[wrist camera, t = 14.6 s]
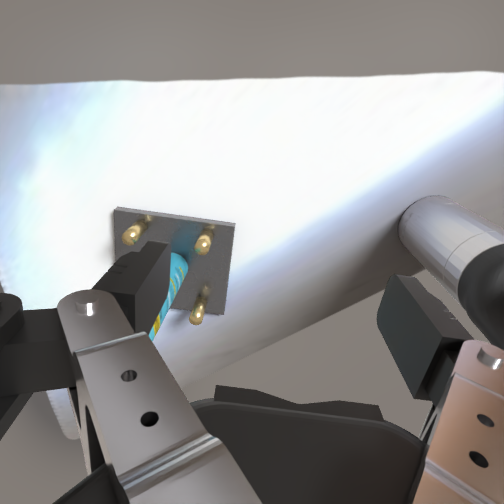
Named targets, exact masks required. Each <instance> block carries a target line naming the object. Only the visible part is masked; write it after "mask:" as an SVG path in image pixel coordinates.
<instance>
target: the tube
mask: <svg viewBox="0 0 504 504" xmlns="http://www.w3.org/2000/svg"><path fill="white" fill-rule="evenodd" d="M187 272H188V265H187V262H186V260H185V259H184V258H183V257H182V256H181V255H179V254H176V253H171V267H170V285H169V291H168V295H167V298H166V300H165V302H164V305H163V307H162V309H161V311H160V313H159V315H158V317H157V319H156V321H155V323H154V325H153V327H152V329H151V332H150V334H149V337H150V339H151V341H153V339H154V337H155V335H156V333H157V332H158V330H159V328H160V326H161V324H162V322H163V320H164V318H165V316H166V314H167V312H168V310H169V308H170V306H171V304H172V302H173V300H174V298H175V296H176V294H177V292H178V290H179V288H180V286H181V284H182V282H183V280H184V278H185V276H186V274H187Z"/></svg>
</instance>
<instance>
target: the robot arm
mask: <svg viewBox="0 0 504 504" xmlns="http://www.w3.org/2000/svg"><path fill="white" fill-rule="evenodd" d="M398 234H399V238H400V240H401V242H402V244H403V245H404V246H405V247H406V248H407V249H408V250H409V251H410V252H411V253H412V254H413V256H414V257H415V258H416V259H417V260H418V261H419V262H420V263H421V264H422V265H423V266H424V267H425V268H426V269H427V270H428V272H429V273H430V274H431V275H432V276H433V277H434V278H435V279H436V280H437V281H438V282H439V283H440V284H441V285H442V286H443V287H444V288H445V290H446V291H448V293H449V294H450V295H451V296H452V297H453V298H454V299H455V300H456V301H457V302H458V303H459V304H460V305H461V306H462V307H463V308H464V309H465V310H466V312H467V314H468V316H469V318H470V319H471V321H472V322H473V323H474V324H475V325H476V326H477V327H478V329H479V330H480V331H481V332H482V333H483V334H484V335H485V337H486V338H487V339H488V340H489V341H490V343H491V344H489V343H487V342H483V341H479V340H474V339H473V337H472V336H471V335H470V334H469V333H468V332H467V330H466V329H465V328H464V327H463V326H462V325H461V323H460V322H459V321H458V320H455V317H454V315H453V314H452V313H451V312H449V310H448V309H447V307H446V306H445V305H444V304H443V303H442V302H441V301H440V300H439V299H437V298H436V297H434V296H433V295H432V294H430V293H429V292H427V290H426V289H425V288H424V287H423V285H422V284H421V283H420V282H419V281H418V280H417V279H416V278H415V277H409V276H402V275H395V274H394V275H392V276H391V277H390V278H389V281H388V283H387V286H386V289H385V292H384V295H383V297H382V300H381V303H380V307H379V309H378V313H377V325H378V328H379V330H380V332H381V334H382V336H383V338H384V340H385V342H386V344H387V346H388V348H389V350H390V352H391V354H392V356H393V358H394V360H395V362H396V364H397V366H398V368H399V370H400V372H401V374H402V376H403V378H404V380H405V382H406V384H407V386H408V388H409V390H410V392H411V394H412V396H413V398H414V399H421V400H429V401H432V403H433V404H432V406H431V408H430V410H429V412H428V415H427V417H426V420H425V422H424V425H423V427H422V430H421V432H420V435H419V437H416V436H414V435H413V434H411V433H410V432H408V431H406V430H405V429H403V428H401V427H399V426H397V425H395V424H393V423H391V422H388V421H386V420H384V419H383V417H382V414H381V411H380V409H379V406H378V405H371V404H363V403H355V402H346V401H329V402H320V403H309V404H296V403H293V402H290V401H287V400H284V399H281V398H278V397H275V396H272V395H269V394H266V393H264V392H260V391H257V390H251V389H244V388H236V387H228V386H219V385H216V389H215V395H214V398H210V399H204V400H199V401H195V402H192V403H189V401H188V400H187V398H186V396H185V395H184V393H183V391H182V390H181V388H180V386H179V385H178V383H177V382H176V380H175V378H174V377H173V375H172V373H171V372H170V370H169V368H168V367H167V365H166V364H165V362H164V360H163V359H162V357H161V355H160V354H159V352H158V350H157V349H156V347H155V346H154V344H153V342H152V341H151V339H150V337H149V334H150V332H151V329H152V327H153V325H154V323H155V321H156V319H157V317H158V315H159V313H160V311H161V309H162V307H163V305H164V302H165V300H166V298H167V295H168V291H169V285H170V267H171V244H170V243H166V242H159V241H151V240H149V241H148V242H147V243H146V244H145V245H144V247H143V248H142V249H141V250H140V252H133V251H131V252H129V253H127V254H125V255H123V256H121V257H120V258H119V259H118V260H117V261H116V262H115V263H114V264H113V266H112V267H111V268H110V269H109V270H108V272H106V273H105V274H104V275H103V277H102V278H101V279H100V280H99V281H98V282H97V283H96V284H95V285H94V287H93V288H92V289H90V290H81V291H77V292H74V293H71V294H69V295H67V296H65V297H64V298H63V299H61V300H60V302H59V303H58V305H57V308H53V309H39V310H23V307H22V302H21V299H20V298H19V297H17V296H15V295H12V294H7V293H0V440H1V439H2V437H3V436H4V434H5V433H6V431H7V430H8V429H9V427H10V426H11V424H12V423H13V421H14V420H15V419H16V417H17V416H18V414H19V413H20V411H21V410H22V409H23V407H24V406H25V404H26V403H27V401H28V400H29V398H30V397H31V396H32V394H33V392H39V391H47V390H54V389H62V388H67V391H68V394H69V398H70V402H71V406H72V409H73V413H74V417H75V420H76V424H77V428H78V431H79V435H80V439H81V443H82V447H83V452H84V458H85V463H86V468H87V473H88V476H87V477H86V478H85V479H83V480H82V481H81V482H80V483H78V484H77V485H76V486H75V487H73V488H72V489H71V490H69V491H68V492H67V493H65V494H64V495H63V496H62V497H60V498H59V499H58V500H57V501H55V502H54V503H53V504H504V229H503V228H502V227H500V226H498V225H496V224H494V223H493V222H491V221H489V220H487V219H485V218H483V217H482V216H480V215H478V214H476V213H474V212H473V211H471V210H469V209H467V208H465V207H464V206H462V205H460V204H458V203H456V202H455V201H453V200H451V199H449V198H446V197H442V196H430V197H426V198H423V199H421V200H418V201H417V202H415V203H414V204H412V205H411V206H410V207H409V208H408V209H407V210H406V211H405V213H404V214H403V216H402V218H401V220H400V223H399V227H398Z"/></svg>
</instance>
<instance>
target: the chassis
mask: <svg viewBox="0 0 504 504" xmlns="http://www.w3.org/2000/svg"><path fill="white" fill-rule="evenodd" d="M114 227H115V256H116V261H117V260H118V259H119V258H120V257H121V256H123V255H125V254H127V253H129V252H131V251H133V252H140V250H141V249H142V248H143V247H144V245H145V244H146V243H147V242H148V241H149V240H151V241H159V242H166V243H170V244H171V253H176V254H179V255H181V256H182V257H183V258H184V259H185V260H186V262H187V265H188V272H187V274H186V276H185V278H184V280H183V282H182V284H181V286H180V288H179V290H178V292H177V294H176V296H175V298H174V300H173V302H172V304H171V306H170V308H176V309H184V310H191V311H192V312H191V314H190V317H189V321H190V323H191V324H193V325H199V324H201V323H202V320H203V316H204V312H206V313H214V314H221V315H224V311H225V304H226V296H227V288H228V279H229V271H230V263H231V255H232V247H233V239H234V231H235V223H230V222H223V221H215V220H208V219H201V218H194V217H187V216H180V215H173V214H166V213H158V212H151V211H144V210H137V209H130V208H123V207H117V208H116V209H114Z"/></svg>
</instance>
